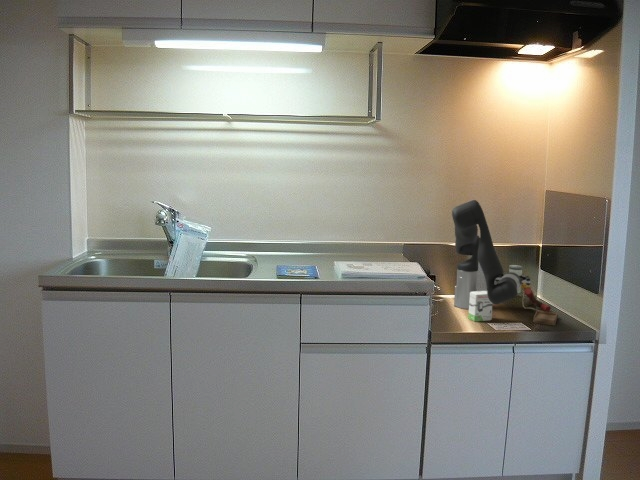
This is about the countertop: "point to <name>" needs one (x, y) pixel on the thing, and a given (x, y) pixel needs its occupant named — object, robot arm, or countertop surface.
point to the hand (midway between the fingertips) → (516, 275)
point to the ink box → (480, 306)
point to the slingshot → (533, 299)
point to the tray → (545, 317)
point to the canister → (517, 270)
